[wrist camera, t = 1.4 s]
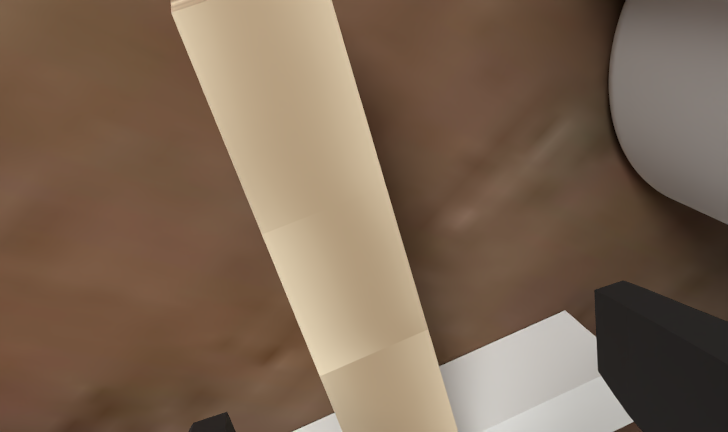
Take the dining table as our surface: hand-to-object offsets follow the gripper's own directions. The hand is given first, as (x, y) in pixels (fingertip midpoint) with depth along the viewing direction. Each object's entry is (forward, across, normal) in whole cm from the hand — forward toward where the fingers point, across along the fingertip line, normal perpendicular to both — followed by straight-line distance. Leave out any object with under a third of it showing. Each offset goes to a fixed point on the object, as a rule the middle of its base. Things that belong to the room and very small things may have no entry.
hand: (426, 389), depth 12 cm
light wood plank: (+11, +1, 0) cm, 11 cm away
